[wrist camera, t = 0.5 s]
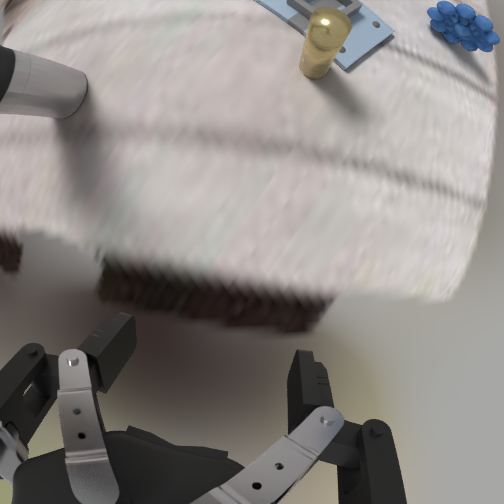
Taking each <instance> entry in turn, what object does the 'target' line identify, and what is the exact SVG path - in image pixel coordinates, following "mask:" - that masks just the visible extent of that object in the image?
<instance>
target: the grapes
mask: <svg viewBox="0 0 504 504" xmlns="http://www.w3.org/2000/svg"><path fill="white" fill-rule="evenodd" d="M427 13H428V15H429V17H430V18H431V19H432V20H431V21H430V24H431V26H432V28H433V29H434V30H436V31H438V32H444V33H443V35H444V38H445V39H446V40H447V41H448V42H450V43H453V44H457V43H459V42H460V41H461V45H462V46H463V47H464V48H465V49H466V50H468V51H476V50H477V48H479V49H480V50H482V51H484V52H491V51H492V50H493V45H496V44H498V43H499V41H500V39H499V37H498V35H497V34H496V33H495V32H494V31H492V29H493V24H492V22H491V21H490V20H489V19H488V18H486V17H484V16H480V15H478V16H476V14H475V11H474V10H473V8H471V7H470V6H468V5H466V4H458V5H457V6H456V8H455V7H454V5H453V4H451V3H450V2H447V1H440V2H438V3H437V8H436V7H431V8H429V9H428V10H427Z"/></svg>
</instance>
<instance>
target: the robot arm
mask: <svg viewBox="0 0 504 504" xmlns="http://www.w3.org/2000/svg"><path fill="white" fill-rule="evenodd" d="M86 89H87V80H86V76H85V75H84V73H83V72H81V71H79V70H77V69H74V68H71V67H68V66H66V65H63V64H60V63H57V62H54V61H51V60H48V59H45V58H41V57H38V56H35V55H31V54H28V53H24V52H20V51H17V50H13V49H9V48H5V47H3V46H1V45H0V114H18V115H32V116H43V117H52V118H61V119H62V118H67V117H69V116H71V115H72V114H73V113H74V112H75V111H76V110H77V109H78V108H79V107H80V105H81V103H82V101H83V99H84V97H85V94H86ZM136 341H137V339H136V324H135V317H134V316H132V315H128V314H125V313H121V312H120V313H119V314H118V315H117V316H116V317H115V318H114V319H113V320H111V319H108V320H106V321H104V322H102V323H101V324H100V325H99V326H98V327H97V328H96V330H94V331H93V332H92V333H91V335H89V337H87V338H86V340H85V341H84V342H83V343H82V344H81V345H80V346H79V347H78V348H77V349H70V350H66V351H64V352H63V353H61V355H60V356H56V355H50V354H46V353H45V350H44V347H43V346H42V345H40V344H38V343H30V344H27V345H25V346H24V347H22V348H21V349H20V351H18V352H17V353H16V354H15V355H14V357H13V358H12V359H11V360H10V361H9V362H8V363H7V364H6V365H5V366H4V367H3V368H2V369H1V370H0V479H5V480H6V481H8V482H9V483H10V484H12V485H13V497H12V504H278V503H279V502H280V501H281V500H282V499H283V498H284V497H285V496H286V495H287V494H288V493H289V492H290V491H291V490H292V489H293V488H294V487H295V486H296V484H297V483H298V482H299V481H300V480H301V479H302V478H303V477H304V476H305V475H306V474H307V473H308V472H309V471H310V469H311V468H312V467H313V466H314V465H315V464H316V463H317V462H318V460H320V461H324V462H327V463H331V464H334V465H337V475H338V497H339V498H338V499H339V504H407V502H406V497H405V490H404V485H403V480H402V475H401V470H400V466H399V461H398V457H397V453H396V448H395V444H394V441H393V436H392V432H391V429H390V427H389V426H388V425H387V424H386V423H385V422H383V421H381V420H377V419H371V420H368V421H366V422H365V423H364V424H363V425H359V424H356V423H352V422H349V421H346V420H344V417H343V415H342V414H341V413H340V412H339V411H338V410H337V409H335V408H334V404H333V399H332V393H331V388H330V385H329V384H330V383H329V380H328V373H327V369H326V368H325V367H324V366H323V364H322V363H321V362H314V356H313V352H312V351H306V350H299V349H297V351H296V353H295V356H294V359H293V362H292V365H291V368H290V371H289V374H288V379H287V397H288V436H286V435H285V436H283V437H282V438H280V439H279V440H278V441H277V442H276V443H275V444H274V445H272V446H271V447H270V448H269V449H268V450H267V451H265V452H264V453H263V454H262V455H261V456H259V458H257V459H256V460H254V461H253V462H252V463H251V464H250V465H248V466H247V467H246V468H245V467H243V466H242V465H241V464H239V463H237V462H235V461H233V460H231V459H229V458H227V456H228V451H222V450H216V449H211V448H206V447H197V446H176V445H173V444H171V443H169V442H167V441H165V440H163V439H161V438H160V437H158V436H156V435H154V434H152V433H150V432H146V431H144V430H141V429H138V428H135V427H132V426H130V425H129V426H128V428H127V430H126V431H109V432H106V429H105V426H104V422H103V419H102V415H101V411H100V407H99V403H98V399H97V395H96V393H97V391H100V392H103V393H105V394H106V393H107V391H108V390H109V388H110V387H111V385H112V384H113V382H114V381H115V379H116V378H117V376H118V375H119V373H120V372H121V370H122V368H123V367H124V366H125V364H126V363H127V361H128V360H129V358H130V357H131V355H132V354H133V352H134V350H135V348H136V343H137V342H136ZM30 384H31V385H32V386H31V387H30V388H29V389H28V391H27V392H26V394H25V395H24V396H23V394H24V391H25V390H26V389H27V387H28V386H29V385H30ZM57 398H58V407H59V416H60V424H61V430H62V437H63V443H64V448H61V449H58V450H56V451H52V452H49V453H47V454H43V455H40V456H37V457H33V458H30V459H28V455H29V448H28V445H27V444H28V443H29V441H30V439H31V438H32V436H33V434H34V433H35V431H36V430H37V428H38V427H39V425H40V423H41V422H42V420H43V419H44V417H45V416H46V414H47V413H48V411H49V409H50V408H51V406H52V405H53V403H54V402H55V400H56V399H57Z"/></svg>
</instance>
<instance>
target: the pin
mask: <svg viewBox="0 0 504 504" xmlns="http://www.w3.org/2000/svg"><path fill="white" fill-rule="evenodd" d="M351 29H352V23H351V21H350V19H349V17H348V16H347V15H346V14H345V13H343V12H342V11H340V10H338V9H336V8H332V7H321V8H318V9H316V10H315V11H313V13H312V14H311V17H310V21H309V26H308V30H307V34H306V38H305V43H304V47H303V51H302V55H301V59H300V64H299V67H300V70H301V72H302V73H303V74H304V75H305V76H306V77H308V78H311V79H320V78H322V77H324V76H325V75H326V73H327V72H328V70H329V68H330V66H331V65H332V63H333V61H334V59H335V58H336V56H337V54H338V52H339V51H340V49H341V47H342V45H343V44H344V42H345V40H346V38H347V37H348V35H349V33H350V32H351Z"/></svg>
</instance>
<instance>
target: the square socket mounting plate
mask: <svg viewBox="0 0 504 504" xmlns="http://www.w3.org/2000/svg"><path fill="white" fill-rule="evenodd" d="M254 1H256V2H258V3H259V4H261V5H262V6H264V7H265V8H267V9H268V10H270V11H271V12H273V13H274V14H276V15H277V16H279V17H280V18H281V19H283V20H284V21H286V22H287V23H288V24H290V25H291V26H292V27H294V28H295V29H296V30H298V31H299V32H300V33H301V34H303V35H304V36H305V37H306V34H307V30H308V26H309V21H310V17H311V14H312V13H313V11H315V10H316V9H318V8H321V7H332V8H336V9H338V10H340V11H342V12H343V13H345V14H346V15H347V16H348V17H349V19H350V21H351V23H352V29H351V32H350V33H349V35H348V37H347V38H346V40H345V42H344V44H343V45H342V47H341V49H340V51H339V52H338V54H337V56H336V58H335V59H334V62H336V63H337V64H338V65H339V66H340V67H341V68H342V69H343V70H346V69H347V68H348V67H349V66H351V65H352V64H353V63H354V62H356V61H357V60H358V59H360V58H361V57H362V56H363V55H365V54H366V53H367V52H369V51H370V50H371V49H373V48H374V47H375V46H377V45H378V44H379V43H381V42H382V41H383V40H385V39H386V38H387V37H389V36H390V35H392V34H393V33H394V32H395V31H394V30H393V29H392V28H391V27H390V26H389V25H387V24H386V23H385V22H384V21H383V20H382V19H381V18H380V17H379V16H377V15H376V14H375V13H374V12H373V11H372V10H370V9H369V8H368V7H367V6H366V5H364V4H363V3H362V2H361V1H359V0H254Z"/></svg>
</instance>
